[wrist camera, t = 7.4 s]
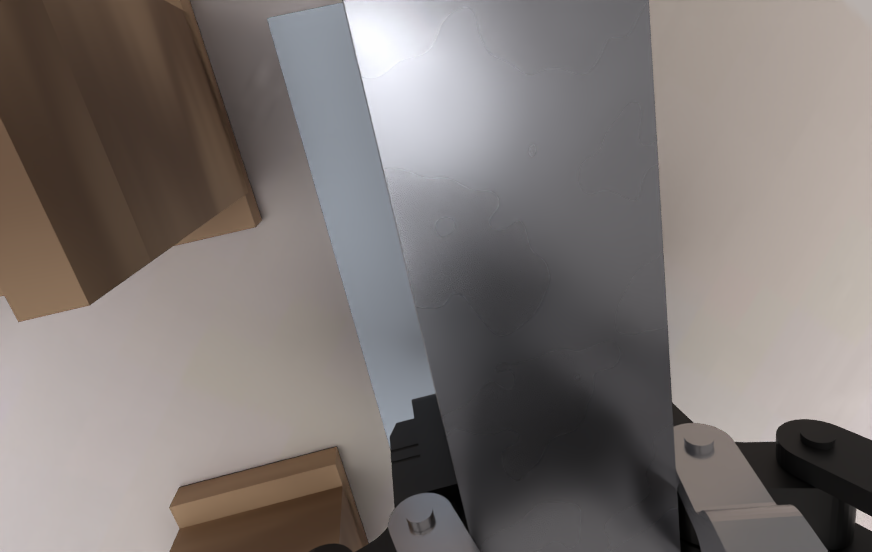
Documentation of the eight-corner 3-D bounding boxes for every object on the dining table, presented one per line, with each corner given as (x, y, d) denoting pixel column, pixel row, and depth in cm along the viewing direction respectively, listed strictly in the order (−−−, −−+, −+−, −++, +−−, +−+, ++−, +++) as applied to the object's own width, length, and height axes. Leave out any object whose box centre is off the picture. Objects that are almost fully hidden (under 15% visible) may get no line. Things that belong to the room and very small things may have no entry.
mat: (270, 21, 15) (266, 18, 14) (536, -34, 15) (543, -39, 14) (428, 575, 22) (430, 588, 21) (604, 526, 22) (610, 537, 22)
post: (-42, 21, 14) (-958, -178, 4) (182, -23, 14) (-197, -297, 5) (72, 263, 16) (-349, 485, 7) (262, 220, 16) (121, 371, 7)
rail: (331, -45, 9) (307, -152, 6) (529, -85, 10) (637, -213, 6) (512, 717, 16) (556, 897, 13) (623, 685, 17) (697, 852, 13)
